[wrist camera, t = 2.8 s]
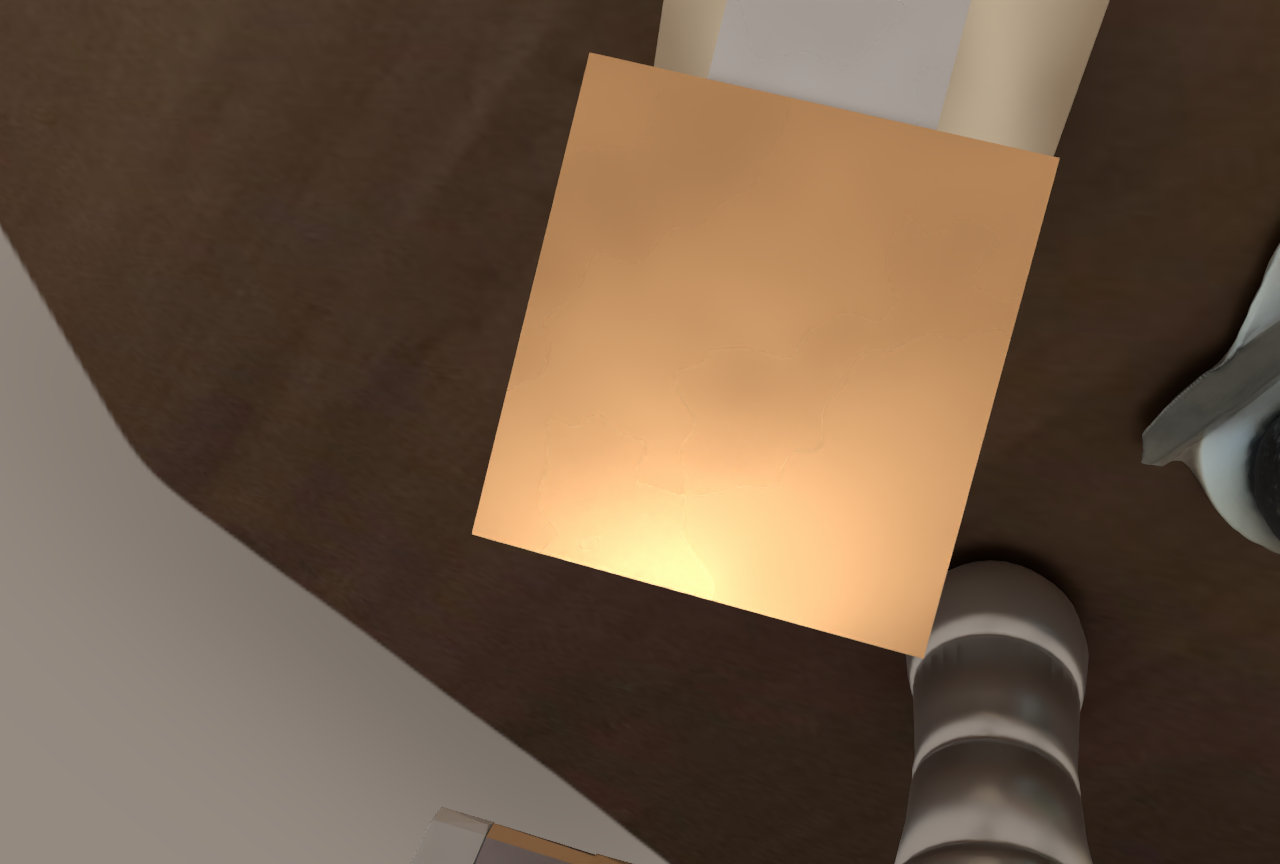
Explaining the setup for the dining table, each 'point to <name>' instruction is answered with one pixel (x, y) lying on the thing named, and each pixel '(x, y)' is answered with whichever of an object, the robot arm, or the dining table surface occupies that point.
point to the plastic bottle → (997, 724)
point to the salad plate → (1234, 423)
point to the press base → (958, 64)
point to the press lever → (771, 321)
